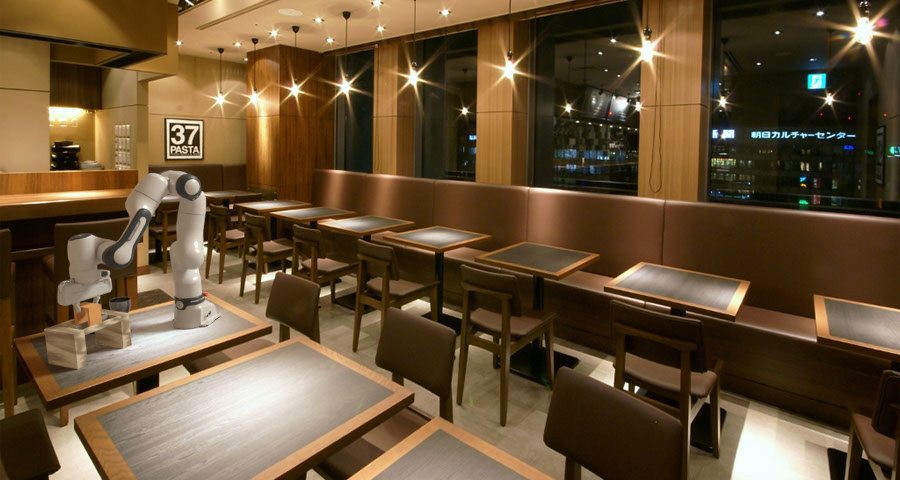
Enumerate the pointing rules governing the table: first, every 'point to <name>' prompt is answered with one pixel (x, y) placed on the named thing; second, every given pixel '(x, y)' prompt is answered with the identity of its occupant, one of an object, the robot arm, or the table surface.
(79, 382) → the table surface
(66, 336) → the shelf
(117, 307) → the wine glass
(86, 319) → the upright wooden block
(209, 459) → the table surface
